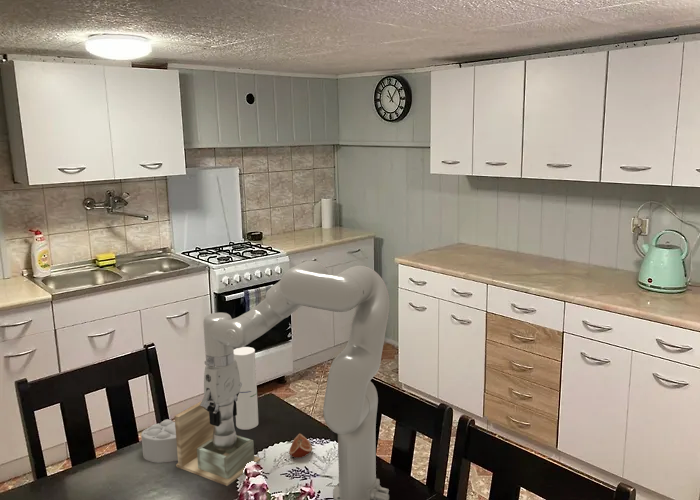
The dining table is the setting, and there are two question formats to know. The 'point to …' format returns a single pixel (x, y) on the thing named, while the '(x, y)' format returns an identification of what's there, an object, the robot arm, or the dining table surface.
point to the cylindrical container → (246, 389)
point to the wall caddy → (209, 448)
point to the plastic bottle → (225, 426)
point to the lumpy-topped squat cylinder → (160, 442)
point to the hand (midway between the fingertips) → (223, 419)
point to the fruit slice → (300, 447)
